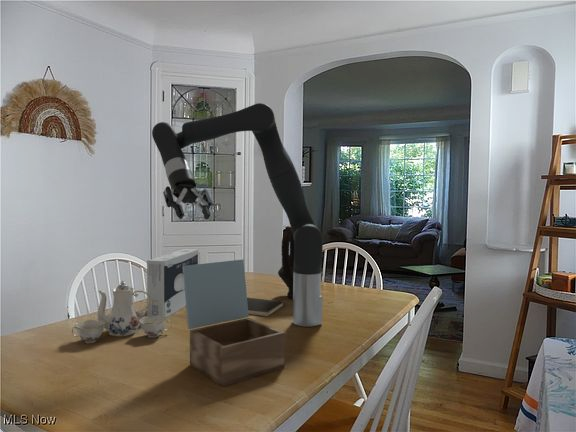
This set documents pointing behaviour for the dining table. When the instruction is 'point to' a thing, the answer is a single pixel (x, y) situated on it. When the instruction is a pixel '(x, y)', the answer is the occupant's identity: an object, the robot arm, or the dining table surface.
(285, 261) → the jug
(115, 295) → the chinaware
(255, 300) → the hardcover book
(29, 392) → the dining table surface
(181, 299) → the packaging
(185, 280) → the lid
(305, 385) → the dining table surface
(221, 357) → the box
